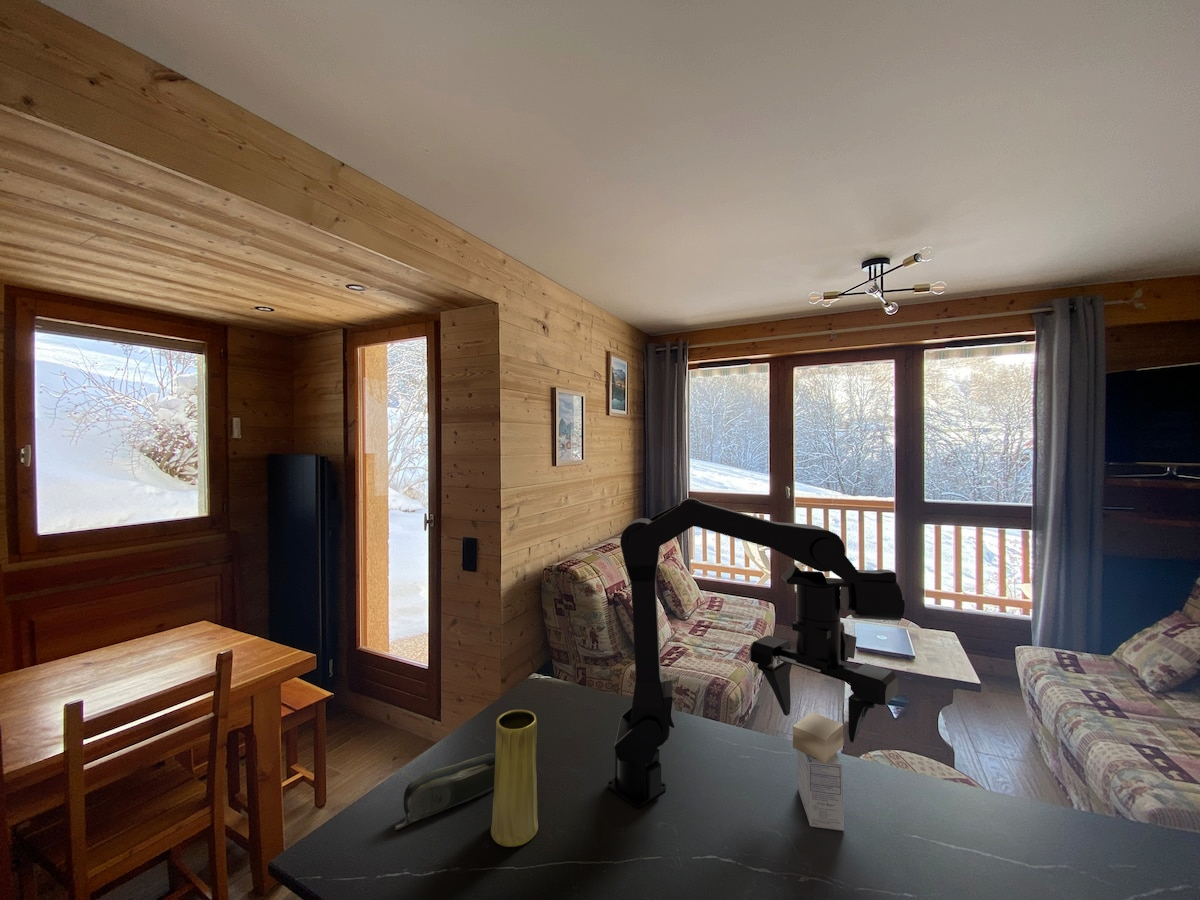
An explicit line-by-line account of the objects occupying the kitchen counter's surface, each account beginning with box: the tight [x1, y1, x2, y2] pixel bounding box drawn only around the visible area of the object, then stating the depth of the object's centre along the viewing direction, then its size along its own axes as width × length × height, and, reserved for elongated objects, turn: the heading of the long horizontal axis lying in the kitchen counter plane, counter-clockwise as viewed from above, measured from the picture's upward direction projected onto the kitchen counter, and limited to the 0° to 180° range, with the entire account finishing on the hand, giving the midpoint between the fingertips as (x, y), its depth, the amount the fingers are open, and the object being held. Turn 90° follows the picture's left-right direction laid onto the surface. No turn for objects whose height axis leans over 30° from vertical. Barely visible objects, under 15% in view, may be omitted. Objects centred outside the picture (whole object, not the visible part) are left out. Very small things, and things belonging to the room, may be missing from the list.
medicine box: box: [796, 749, 845, 832], centre depth 68 cm, size 8×4×9 cm, turn 169°
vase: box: [490, 709, 539, 848], centre depth 63 cm, size 6×6×14 cm
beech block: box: [792, 711, 845, 763], centre depth 68 cm, size 4×6×3 cm
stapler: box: [394, 751, 496, 831], centre depth 68 cm, size 5×3×15 cm
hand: (818, 727), depth 68 cm, fingers open, 9 cm apart
